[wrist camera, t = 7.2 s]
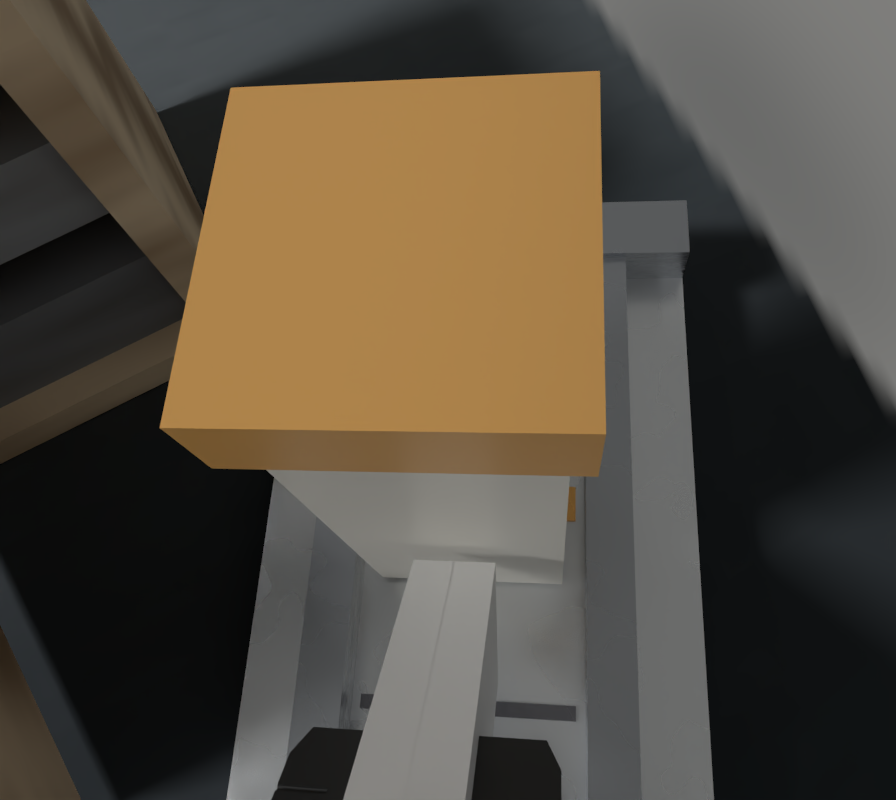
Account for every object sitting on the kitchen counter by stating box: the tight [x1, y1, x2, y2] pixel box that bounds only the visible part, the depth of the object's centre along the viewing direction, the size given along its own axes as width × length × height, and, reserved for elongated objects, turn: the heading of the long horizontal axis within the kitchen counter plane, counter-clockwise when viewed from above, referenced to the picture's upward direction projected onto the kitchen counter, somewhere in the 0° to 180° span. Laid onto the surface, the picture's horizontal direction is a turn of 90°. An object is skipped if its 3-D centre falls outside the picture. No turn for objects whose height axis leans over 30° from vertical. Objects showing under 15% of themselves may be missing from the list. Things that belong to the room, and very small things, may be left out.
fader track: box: [227, 200, 714, 800], centre depth 17 cm, size 24×10×3 cm, turn 177°
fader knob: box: [160, 71, 606, 584], centre depth 14 cm, size 5×5×10 cm
